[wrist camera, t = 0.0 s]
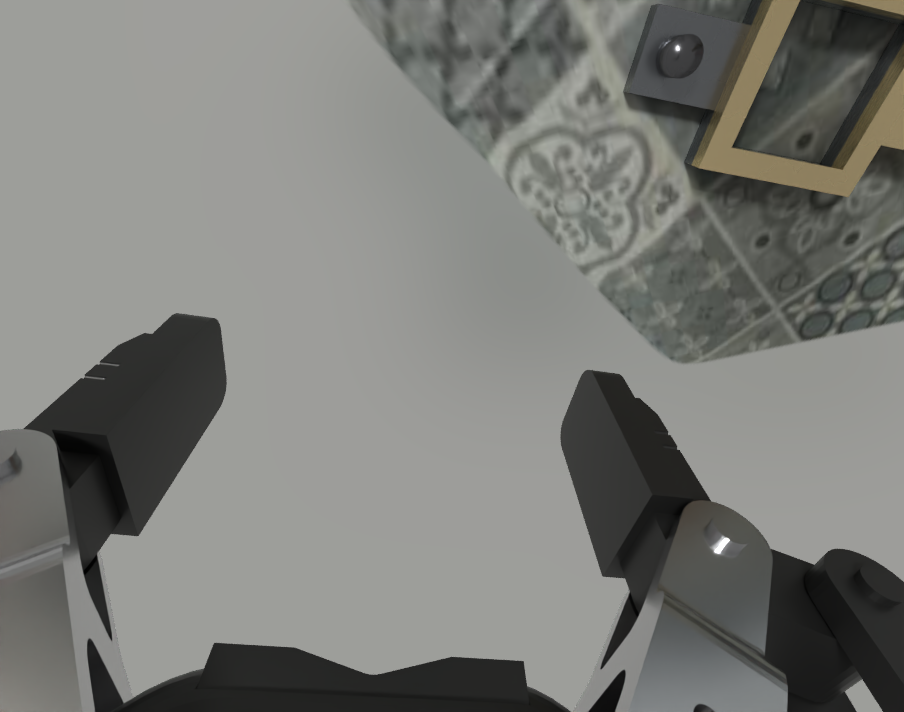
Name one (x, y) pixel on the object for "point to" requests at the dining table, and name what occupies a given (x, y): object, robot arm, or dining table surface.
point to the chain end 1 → (721, 63)
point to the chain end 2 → (881, 124)
